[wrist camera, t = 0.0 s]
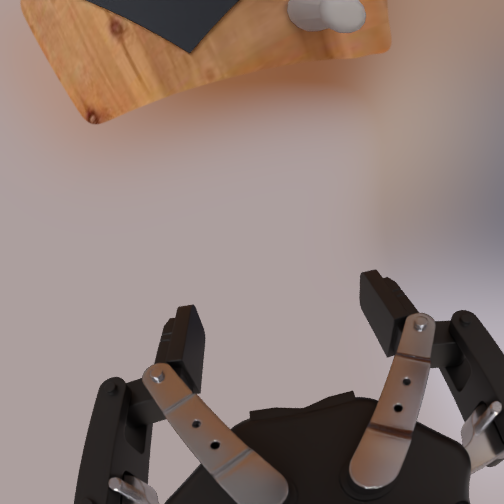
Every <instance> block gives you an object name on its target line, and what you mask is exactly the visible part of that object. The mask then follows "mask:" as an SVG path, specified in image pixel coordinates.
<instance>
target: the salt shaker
mask: <svg viewBox="0 0 504 504" xmlns="http://www.w3.org/2000/svg"><path fill="white" fill-rule="evenodd" d="M287 12H288V15H289V18H290V20H291V21H292V22H293V23H294V24H295V25H296V26H297V27H298V28H301V29H303V30H306V31H321V30H324V29H328V28H330V29H332V30H334V31H336V32H339V33H351V32H354V31H357V30H359V29H360V28H361V27H362V25H363V24H364V23H365V18H366V13H365V10H364V6H363V5H362V4H361V3H360V2H359V0H290V1H289V2H288V9H287Z"/></svg>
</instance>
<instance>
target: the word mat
mask: <svg viewBox="0 0 504 504" xmlns="http://www.w3.org/2000/svg"><path fill="white" fill-rule="evenodd" d="M86 1H89V2H91V3H94V4H96V5H98V6H101V7H103V8H105V9H108V10H110V11H112V12H114V13H116V14H119V15H121V16H123V17H125V18H127V19H129V20H131V21H133V22H135V23H137V24H139V25H141V26H143V27H145V28H147V29H148V30H150V31H152V32H154V33H156V34H158V35H159V36H161V37H163V38H165V39H167V40H168V41H170V42H172V43H174V44H175V45H177V46H179V47H180V48H182V49H184V50H185V51H187V52H189V53H191V51H192V50H193V49H194V48H195V47H196V46H197V44H198V43H199V42H200V41H201V40H202V39H203V37H204V36H205V35H206V34H207V33H208V32H209V31H210V30H211V28H212V27H213V26H214V25H215V24H216V23H217V22H218V21H219V20H220V19H221V18H222V17H223V16H224V15H225V14H226V13H227V12H228V11H229V10H230V9H231V8H232V7H233V6H234V5H235V4H236V3H237V2H238V1H239V0H86Z"/></svg>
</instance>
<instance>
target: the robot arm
mask: <svg viewBox="0 0 504 504" xmlns="http://www.w3.org/2000/svg"><path fill="white" fill-rule="evenodd" d="M360 306H361V309H362V311H363V313H364V315H365V316H366V318H367V320H368V322H369V324H370V326H371V328H372V329H373V331H374V333H375V335H376V337H377V339H378V341H379V343H380V345H381V347H382V349H383V350H384V352H385V354H386V356H387V357H390V356H393V355H395V356H394V359H393V363H392V365H391V368H390V371H389V374H388V377H387V380H386V382H385V385H384V388H383V391H382V393H381V396H380V398H379V401H377V400H375V399H371V398H365V397H355V395H354V392H353V391H350V392H346V393H342V394H338V395H334V396H331V397H327V398H325V399H323V400H321V401H319V402H317V403H314V404H312V405H310V406H307V407H305V408H269V409H262V410H255V411H250V418H249V419H247V420H245V421H242V422H241V423H239V424H237V425H235V426H234V427H233V428H232V429H229V428H228V427H227V426H226V425H225V424H224V423H223V422H222V421H221V420H220V419H219V418H218V416H217V415H216V414H214V412H213V411H212V410H211V409H210V408H209V407H208V406H207V405H206V404H205V403H204V402H203V401H202V399H201V398H200V397H199V396H198V395H197V394H199V393H201V381H202V369H203V359H204V348H205V332H204V328H203V326H202V323H201V320H200V318H199V315H198V313H197V310H196V307H195V306H194V305H188V306H181V307H178V309H177V313H176V317H175V318H170V319H169V321H168V322H167V323H166V325H165V326H164V328H163V332H162V336H161V340H160V341H161V342H160V343H159V347H158V351H157V355H156V359H155V363H154V365H152V366H150V367H148V368H147V369H146V371H145V372H144V374H143V376H142V378H140V379H138V380H135V381H132V382H129V383H125V381H124V380H123V379H121V378H119V377H113V378H109V379H107V380H106V381H104V382H103V383H102V385H101V386H100V388H99V391H98V394H97V398H96V401H95V405H94V409H93V412H92V416H91V420H90V424H89V428H88V432H87V437H86V441H85V445H84V450H83V455H82V460H81V464H80V469H79V475H78V481H77V486H76V493H75V500H74V504H159V502H158V496H157V493H156V491H155V490H154V489H153V488H152V487H151V486H149V485H148V472H149V471H148V470H149V458H150V446H151V437H152V436H151V435H152V427H153V423H155V422H158V421H161V420H165V419H167V420H168V422H169V423H170V424H171V426H172V427H173V428H174V430H175V431H176V432H177V434H178V435H179V436H180V438H181V439H182V440H183V442H184V443H185V444H186V445H187V447H188V448H189V449H190V450H191V452H192V453H193V454H194V455H195V457H196V458H197V459H198V460H199V461H200V463H201V464H200V465H199V466H198V467H197V468H196V469H195V471H194V472H193V473H192V474H191V475H190V476H189V477H188V478H187V479H186V481H185V482H184V483H183V484H182V485H181V486H180V487H179V488H178V489H177V491H175V492H174V494H173V495H172V496H171V497H170V498H169V499H168V500H167V501H166V502H165V504H470V501H469V481H470V475H471V474H473V473H475V472H476V471H478V470H480V469H482V468H483V467H485V466H487V467H493V466H496V465H497V464H499V463H500V462H501V461H502V460H504V354H503V353H502V351H501V350H500V348H499V347H498V345H497V344H496V342H495V341H494V340H493V338H492V337H491V335H490V334H489V333H488V331H487V330H486V328H485V327H484V326H483V324H482V323H481V322H480V320H479V319H478V318H477V317H476V315H474V314H473V313H471V312H469V311H465V310H461V311H457V312H455V313H454V314H453V316H452V319H451V321H434V319H433V318H432V317H431V316H429V315H427V314H425V313H419V312H418V311H417V309H416V308H415V307H414V305H413V304H412V303H411V301H410V300H409V299H408V297H407V296H406V295H405V294H404V292H403V291H402V290H401V288H400V287H399V286H398V284H397V283H396V282H395V281H393V280H391V279H390V278H388V277H386V278H382V276H381V275H380V274H379V272H378V271H377V270H371V271H367V272H362V273H361V275H360ZM430 368H439V369H440V371H441V373H442V375H443V377H444V379H445V381H446V383H447V385H448V387H449V389H450V391H451V393H452V395H453V397H454V399H455V401H456V404H457V406H458V408H459V410H460V412H461V415H462V417H463V419H464V421H465V423H464V425H463V427H462V430H461V436H462V445H461V444H460V443H458V442H457V441H455V440H453V439H451V438H449V437H446V436H445V435H442V434H441V433H439V432H436V431H435V430H433V429H431V428H429V427H427V426H425V425H423V424H421V423H419V422H417V421H416V420H417V418H418V414H419V410H420V407H421V404H422V400H423V396H424V392H425V388H426V384H427V380H428V375H429V370H430Z"/></svg>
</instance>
